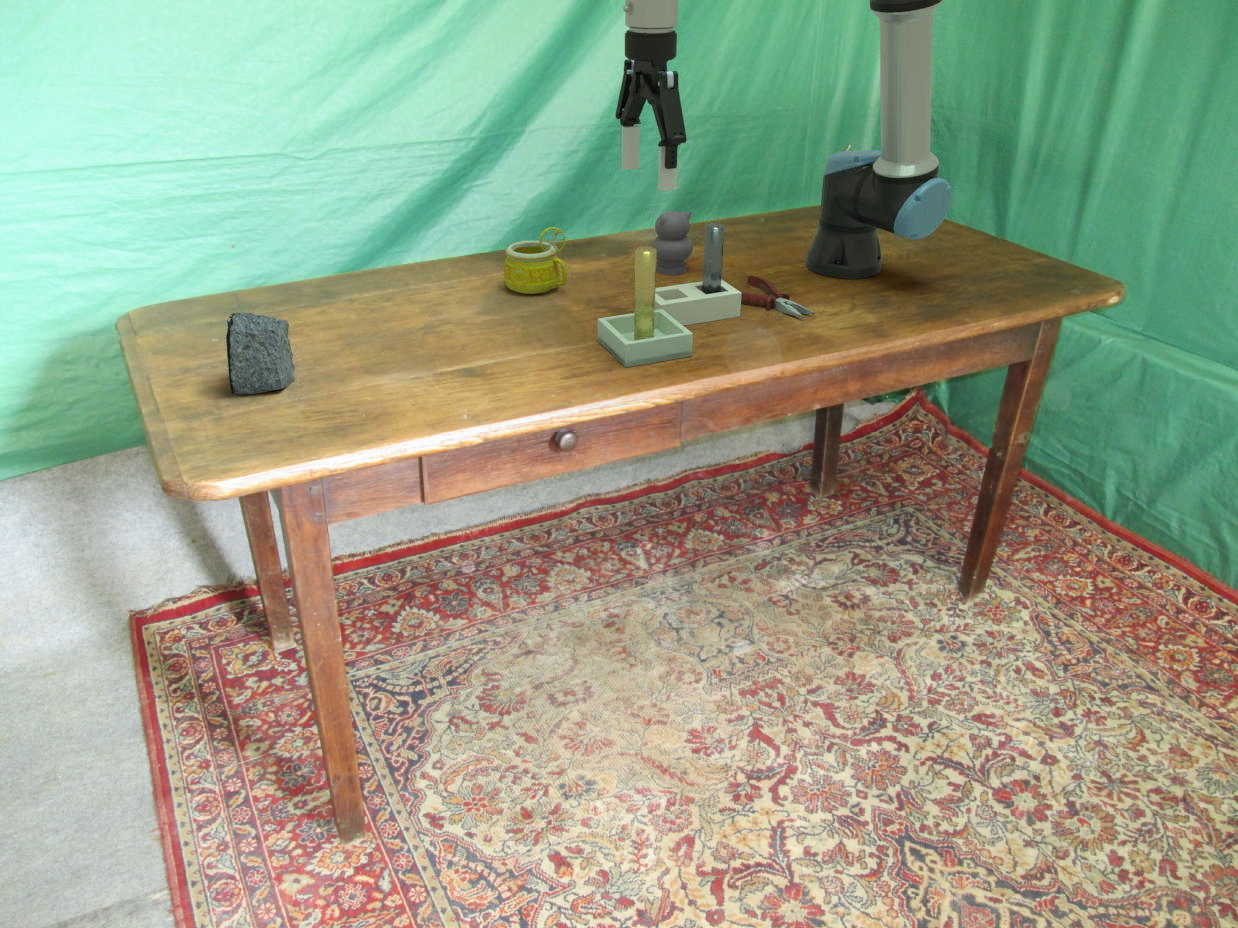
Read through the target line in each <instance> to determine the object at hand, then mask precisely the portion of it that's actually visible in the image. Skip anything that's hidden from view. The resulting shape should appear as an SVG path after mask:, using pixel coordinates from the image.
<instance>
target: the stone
mask: <svg viewBox="0 0 1238 928" xmlns="http://www.w3.org/2000/svg"><path fill="white" fill-rule="evenodd" d="M226 323H227V325H226V326H227V329H226V330H227V331H226V334H225V338H226V339H225V340H226V341H225V342H226V353H227V354H226V358H227V368H228V379H229V386H230V391H231V394H235V395H237V396H244V395H258V394H259V393H260V394H261V393H267V392H270V391H271V392H272V391H275V390H276V391H277V390H282V389H284V388H288V387H289V386H290V385H291V384H292V382H294V380H295V368H296V367H295V364H294V361H293V357H294V354H293V352H292V346H291V342H290V341H291V340H290V338H289V327H290V324H289V321H288V320H286V319H283V318H281V319H280V318H276V317H272V316H266V315H261V314H256V313H252V312H236V313H235V312H233V313H231V314H230V315H229V316H228V318H227V319H226Z"/></svg>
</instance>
